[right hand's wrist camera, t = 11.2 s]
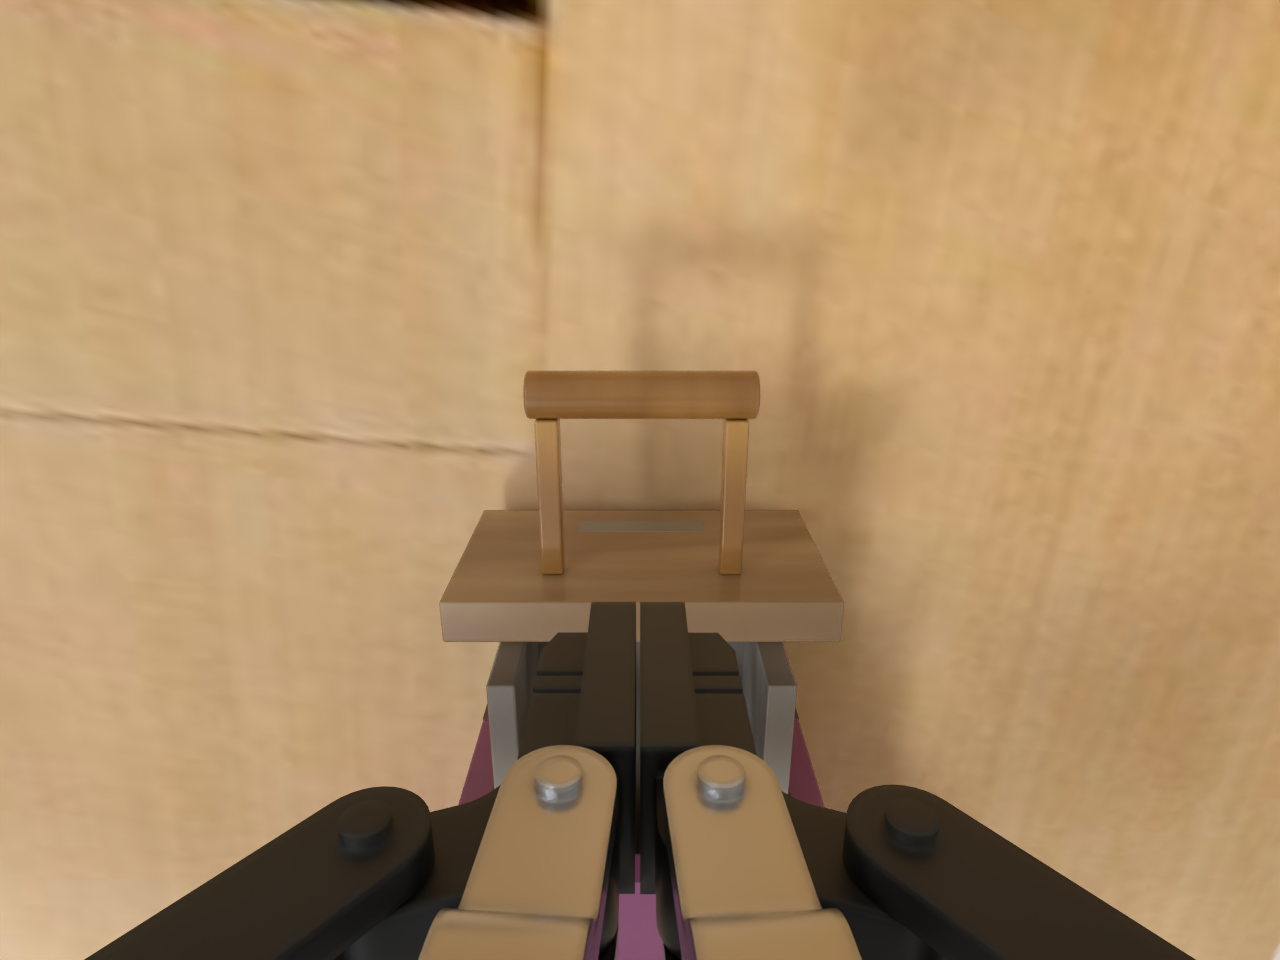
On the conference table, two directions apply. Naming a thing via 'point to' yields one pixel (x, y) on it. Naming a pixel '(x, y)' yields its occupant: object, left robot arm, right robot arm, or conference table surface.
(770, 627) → the drawer
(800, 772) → the cabinet
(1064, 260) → the conference table surface
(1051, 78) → the conference table surface
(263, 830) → the conference table surface
